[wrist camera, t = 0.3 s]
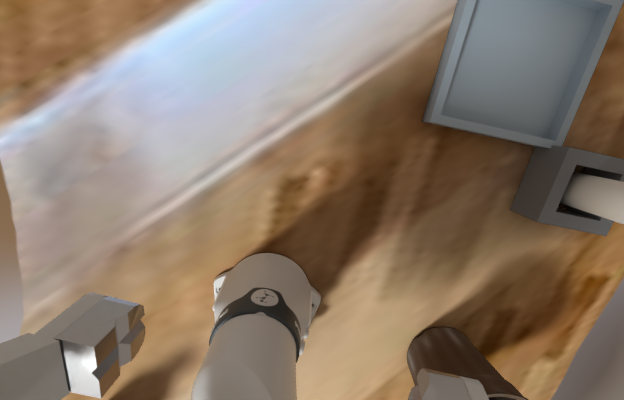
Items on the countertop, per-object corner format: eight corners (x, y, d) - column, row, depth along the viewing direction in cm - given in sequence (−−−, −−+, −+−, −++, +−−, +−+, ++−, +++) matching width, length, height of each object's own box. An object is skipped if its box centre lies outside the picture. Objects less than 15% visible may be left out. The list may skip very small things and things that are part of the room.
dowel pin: (562, 202, 48) (704, 248, 31) (533, 196, 48) (661, 239, 31) (575, 172, 47) (731, 203, 30) (546, 166, 47) (687, 194, 29)
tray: (544, 148, 46) (560, 150, 43) (421, 121, 45) (429, 121, 42) (602, 6, 41) (625, -3, 38) (466, -30, 40) (479, -41, 37)
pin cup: (571, 222, 49) (606, 236, 44) (509, 209, 49) (537, 222, 43) (601, 157, 46) (643, 163, 41) (536, 143, 46) (569, 147, 40)
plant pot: (483, 311, 54) (555, 389, 38) (480, 381, 58) (543, 477, 42) (394, 320, 54) (429, 402, 38) (397, 389, 58) (430, 488, 43)
